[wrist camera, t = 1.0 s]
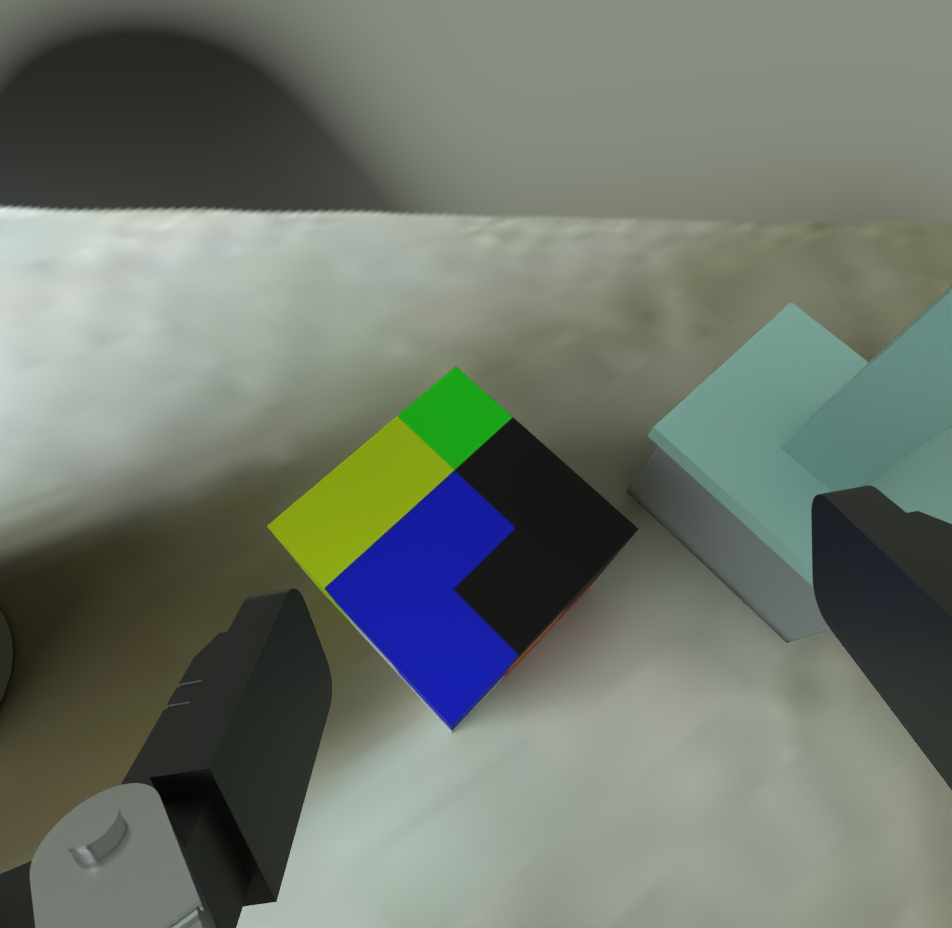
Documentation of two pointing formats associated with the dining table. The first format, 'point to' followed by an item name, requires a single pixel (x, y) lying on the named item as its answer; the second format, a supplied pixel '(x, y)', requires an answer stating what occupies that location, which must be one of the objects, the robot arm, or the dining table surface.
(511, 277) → the dining table surface
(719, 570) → the tub
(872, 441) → the lid
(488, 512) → the puzzle toy
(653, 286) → the dining table surface
